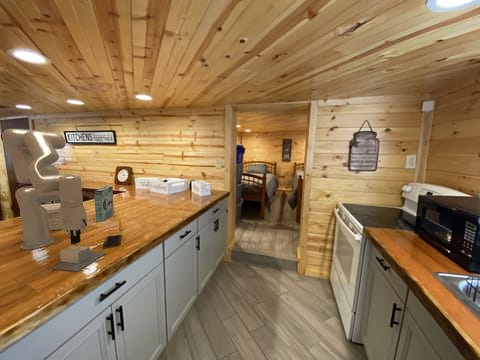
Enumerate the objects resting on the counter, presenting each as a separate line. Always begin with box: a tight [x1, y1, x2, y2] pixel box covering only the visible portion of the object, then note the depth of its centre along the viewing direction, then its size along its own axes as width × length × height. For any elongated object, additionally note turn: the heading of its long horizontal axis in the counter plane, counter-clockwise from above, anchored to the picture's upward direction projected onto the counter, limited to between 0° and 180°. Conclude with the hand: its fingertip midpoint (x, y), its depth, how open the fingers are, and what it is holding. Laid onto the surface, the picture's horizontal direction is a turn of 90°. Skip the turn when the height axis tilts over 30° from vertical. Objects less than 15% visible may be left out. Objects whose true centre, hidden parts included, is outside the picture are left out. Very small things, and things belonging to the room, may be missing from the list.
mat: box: [51, 250, 107, 273], centre depth 89 cm, size 12×15×1 cm
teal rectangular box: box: [93, 185, 115, 223], centre depth 147 cm, size 20×5×23 cm, turn 13°
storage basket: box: [19, 202, 61, 232], centre depth 126 cm, size 24×16×15 cm
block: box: [59, 245, 91, 263], centre depth 89 cm, size 5×5×10 cm
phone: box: [102, 234, 123, 250], centre depth 109 cm, size 8×1×15 cm
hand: (75, 243), depth 88 cm, fingers closed
